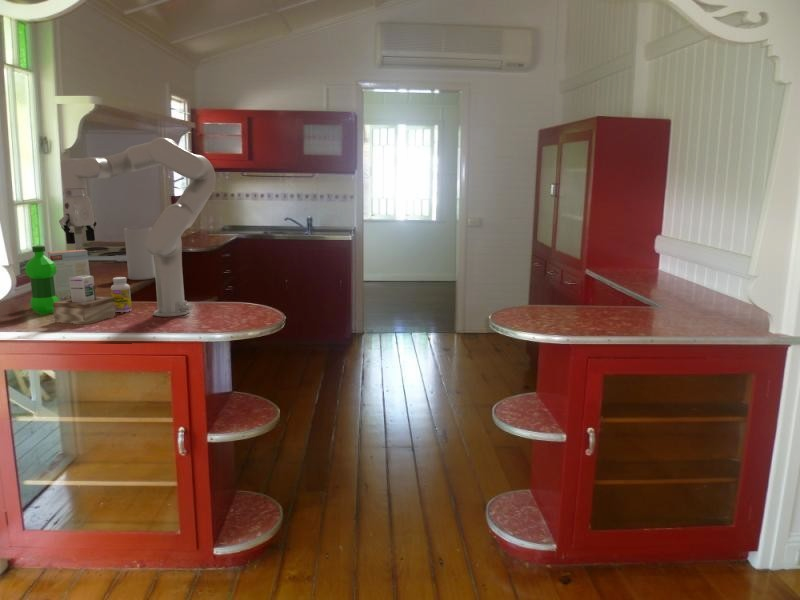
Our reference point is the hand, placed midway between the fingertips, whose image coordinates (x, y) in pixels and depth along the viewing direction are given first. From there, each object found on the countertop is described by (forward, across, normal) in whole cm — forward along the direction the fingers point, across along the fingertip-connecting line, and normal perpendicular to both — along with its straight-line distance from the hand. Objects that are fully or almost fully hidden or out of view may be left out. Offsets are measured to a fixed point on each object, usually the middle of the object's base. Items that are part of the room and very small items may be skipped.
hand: (81, 242), depth 246 cm
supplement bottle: (+27, +10, -7) cm, 30 cm away
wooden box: (+27, -5, -3) cm, 28 cm away
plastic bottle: (+27, +1, +21) cm, 34 cm away
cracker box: (+27, +22, +28) cm, 45 cm away
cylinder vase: (+27, +83, +41) cm, 96 cm away
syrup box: (+26, -5, -3) cm, 27 cm away
